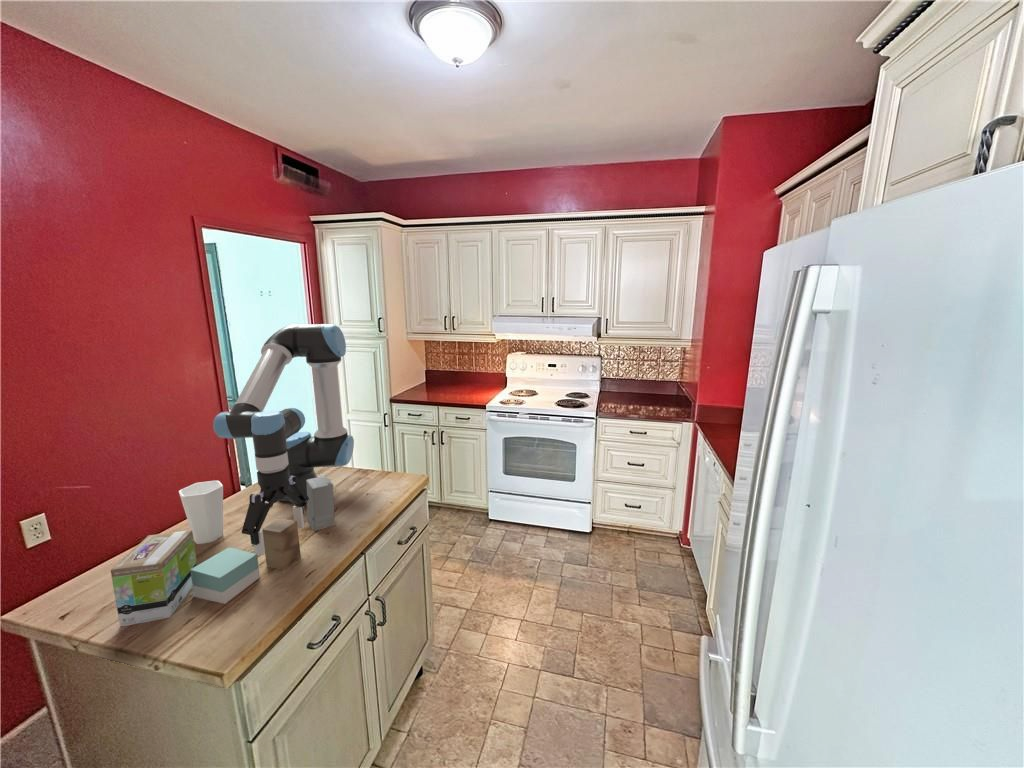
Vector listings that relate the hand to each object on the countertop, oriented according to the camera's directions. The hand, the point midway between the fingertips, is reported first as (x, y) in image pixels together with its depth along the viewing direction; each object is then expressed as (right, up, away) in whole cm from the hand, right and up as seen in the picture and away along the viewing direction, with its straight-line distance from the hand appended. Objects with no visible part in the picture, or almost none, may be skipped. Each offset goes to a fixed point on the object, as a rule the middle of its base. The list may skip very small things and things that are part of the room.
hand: (280, 539), depth 112 cm
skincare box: (+1, -4, +22) cm, 22 cm away
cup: (-31, -5, +14) cm, 34 cm away
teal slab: (-9, -6, -9) cm, 14 cm away
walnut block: (0, -7, +2) cm, 8 cm away
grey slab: (-9, -10, -8) cm, 16 cm away
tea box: (-22, -10, -13) cm, 27 cm away
